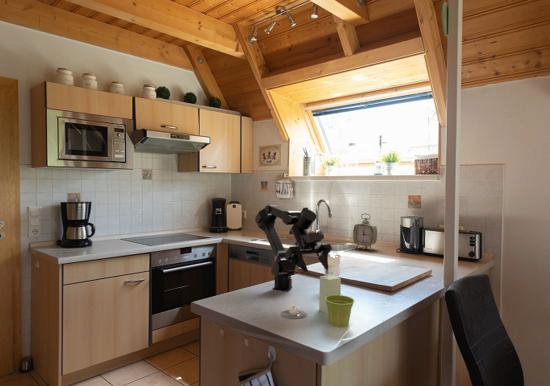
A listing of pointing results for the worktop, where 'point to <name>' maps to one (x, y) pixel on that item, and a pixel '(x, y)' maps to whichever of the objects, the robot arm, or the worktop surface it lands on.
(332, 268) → the beer glass
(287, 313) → the saucer
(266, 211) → the robot arm
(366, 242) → the tabletop clock
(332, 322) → the plant pot
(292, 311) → the tea light
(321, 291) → the cover
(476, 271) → the worktop surface
